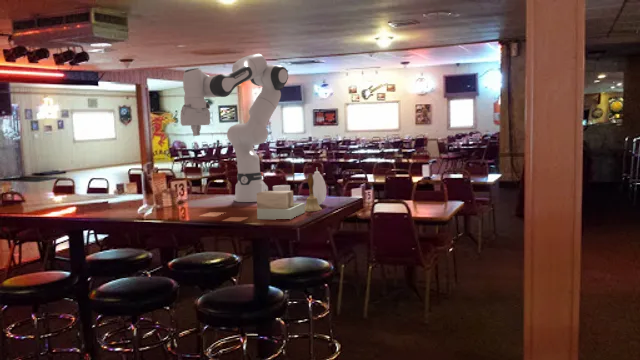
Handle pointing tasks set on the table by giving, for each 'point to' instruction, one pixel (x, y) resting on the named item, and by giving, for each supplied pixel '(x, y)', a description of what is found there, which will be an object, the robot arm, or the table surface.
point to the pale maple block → (275, 200)
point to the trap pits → (214, 214)
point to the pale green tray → (281, 212)
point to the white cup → (281, 188)
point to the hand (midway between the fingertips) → (196, 135)
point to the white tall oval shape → (319, 187)
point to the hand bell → (311, 197)
